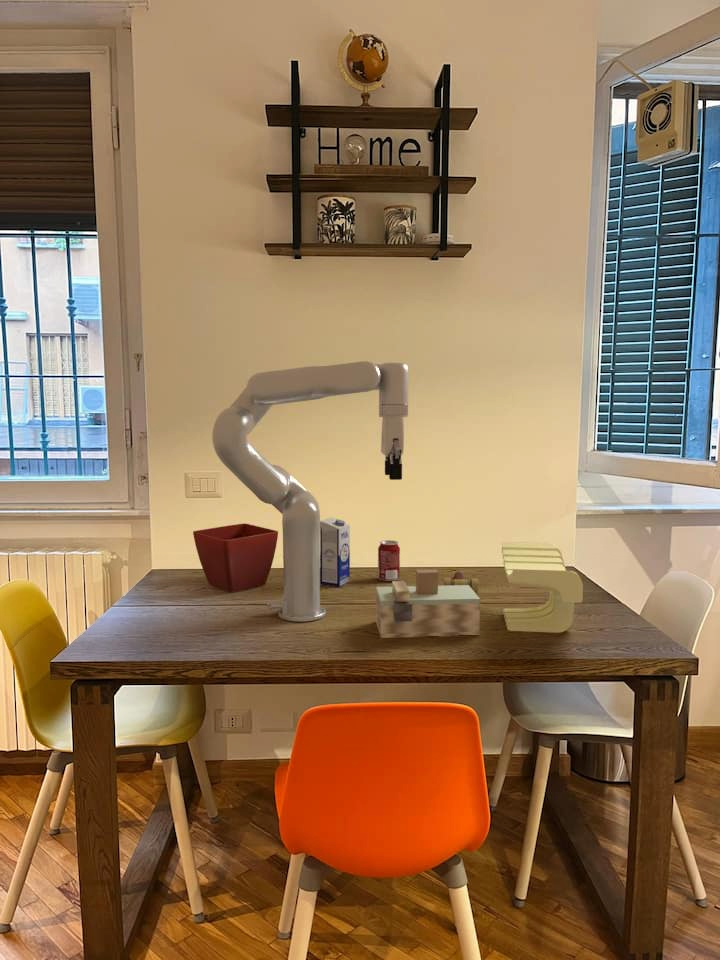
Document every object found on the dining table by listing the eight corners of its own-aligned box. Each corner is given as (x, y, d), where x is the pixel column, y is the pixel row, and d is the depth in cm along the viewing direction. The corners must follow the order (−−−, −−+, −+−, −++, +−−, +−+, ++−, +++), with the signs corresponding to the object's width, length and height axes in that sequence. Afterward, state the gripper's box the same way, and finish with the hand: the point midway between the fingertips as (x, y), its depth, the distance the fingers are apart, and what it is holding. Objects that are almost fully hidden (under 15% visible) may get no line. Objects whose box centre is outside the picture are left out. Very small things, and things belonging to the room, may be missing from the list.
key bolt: (396, 601, 167) (397, 591, 167) (392, 591, 176) (392, 581, 176) (409, 601, 167) (409, 591, 167) (404, 590, 176) (404, 581, 176)
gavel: (442, 566, 227) (473, 567, 226) (442, 580, 228) (473, 581, 227) (443, 579, 207) (478, 580, 206) (443, 594, 207) (478, 595, 206)
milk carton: (331, 579, 222) (330, 516, 220) (350, 581, 219) (350, 518, 217) (319, 584, 216) (319, 520, 214) (339, 587, 213) (339, 522, 211)
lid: (381, 605, 169) (381, 578, 168) (376, 591, 181) (376, 565, 180) (480, 603, 171) (480, 576, 170) (468, 589, 183) (469, 564, 182)
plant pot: (192, 584, 216) (191, 530, 214) (245, 573, 229) (244, 522, 227) (226, 598, 202) (224, 540, 200) (280, 585, 215) (280, 531, 213)
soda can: (400, 582, 219) (400, 544, 217) (378, 582, 219) (378, 544, 217) (398, 576, 225) (399, 539, 224) (377, 576, 225) (377, 539, 224)
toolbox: (382, 642, 167) (382, 604, 166) (376, 621, 182) (376, 586, 181) (482, 639, 169) (483, 602, 168) (467, 619, 184) (468, 585, 183)
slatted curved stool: (580, 645, 165) (583, 571, 163) (511, 642, 167) (513, 569, 165) (559, 606, 195) (561, 543, 193) (500, 604, 197) (502, 541, 194)
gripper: (375, 410, 191) (375, 473, 193) (382, 412, 173) (382, 481, 176) (403, 410, 191) (402, 473, 193) (413, 412, 174) (412, 481, 176)
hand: (393, 477), depth 184 cm, fingers open, 9 cm apart
